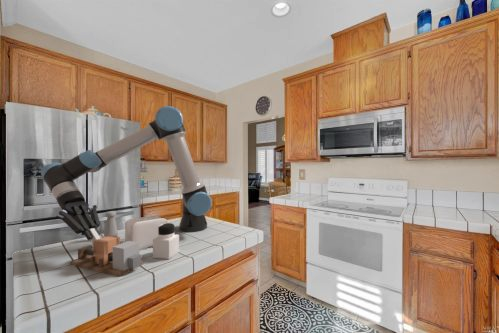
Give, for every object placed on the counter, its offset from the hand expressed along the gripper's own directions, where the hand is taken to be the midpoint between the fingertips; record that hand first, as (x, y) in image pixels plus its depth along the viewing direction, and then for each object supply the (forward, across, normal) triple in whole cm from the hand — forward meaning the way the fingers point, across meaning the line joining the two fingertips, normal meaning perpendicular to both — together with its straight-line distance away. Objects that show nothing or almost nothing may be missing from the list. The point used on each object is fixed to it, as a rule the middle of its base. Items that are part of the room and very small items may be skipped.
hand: (98, 244), depth 76 cm
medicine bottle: (+17, -14, +8) cm, 24 cm away
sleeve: (+6, 0, -1) cm, 6 cm away
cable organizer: (+6, -20, -4) cm, 21 cm away
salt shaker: (-10, -20, -20) cm, 30 cm away
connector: (+14, 0, +6) cm, 15 cm away
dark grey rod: (+4, 0, -2) cm, 4 cm away
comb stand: (+7, 0, -2) cm, 7 cm away
